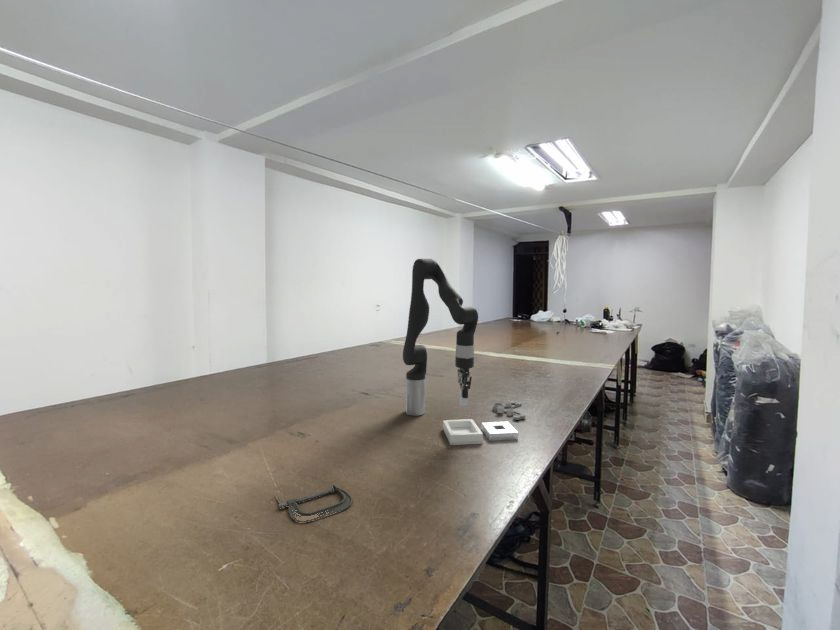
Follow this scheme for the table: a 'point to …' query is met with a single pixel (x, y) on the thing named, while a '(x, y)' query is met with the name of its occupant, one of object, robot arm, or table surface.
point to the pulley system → (500, 409)
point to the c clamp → (335, 508)
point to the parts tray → (462, 432)
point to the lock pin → (462, 400)
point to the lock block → (499, 431)
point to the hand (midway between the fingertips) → (463, 396)
